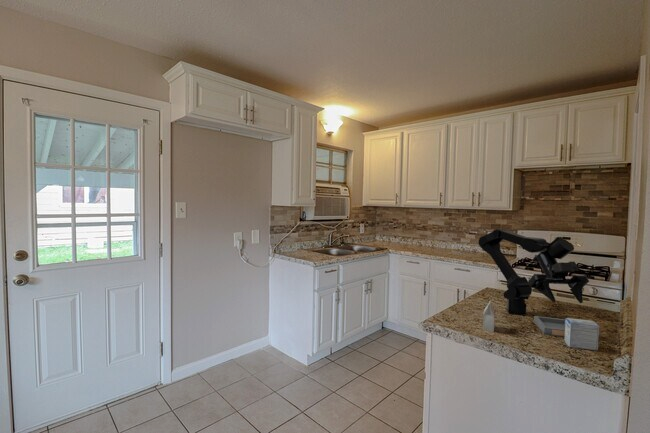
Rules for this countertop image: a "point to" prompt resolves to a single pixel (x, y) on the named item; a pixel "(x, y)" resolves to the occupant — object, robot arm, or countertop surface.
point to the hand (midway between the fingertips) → (568, 302)
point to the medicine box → (581, 334)
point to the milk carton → (489, 318)
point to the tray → (551, 325)
